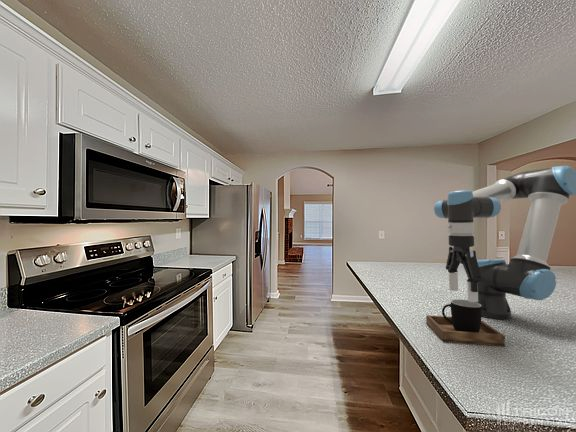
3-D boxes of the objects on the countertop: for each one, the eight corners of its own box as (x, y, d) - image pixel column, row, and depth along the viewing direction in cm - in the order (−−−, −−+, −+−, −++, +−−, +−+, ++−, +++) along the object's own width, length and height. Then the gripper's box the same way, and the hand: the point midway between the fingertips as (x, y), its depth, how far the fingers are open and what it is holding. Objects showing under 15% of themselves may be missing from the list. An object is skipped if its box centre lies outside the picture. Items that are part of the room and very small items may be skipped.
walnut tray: (478, 327, 97) (478, 318, 97) (504, 346, 82) (504, 335, 83) (426, 323, 100) (426, 315, 100) (442, 341, 85) (442, 331, 85)
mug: (485, 333, 90) (485, 303, 90) (477, 340, 84) (477, 309, 85) (446, 322, 99) (446, 296, 100) (437, 329, 93) (437, 300, 94)
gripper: (435, 233, 105) (436, 286, 105) (467, 237, 80) (469, 306, 80) (455, 232, 104) (457, 286, 103) (494, 237, 79) (496, 307, 79)
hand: (462, 295), depth 92 cm, fingers open, 13 cm apart
